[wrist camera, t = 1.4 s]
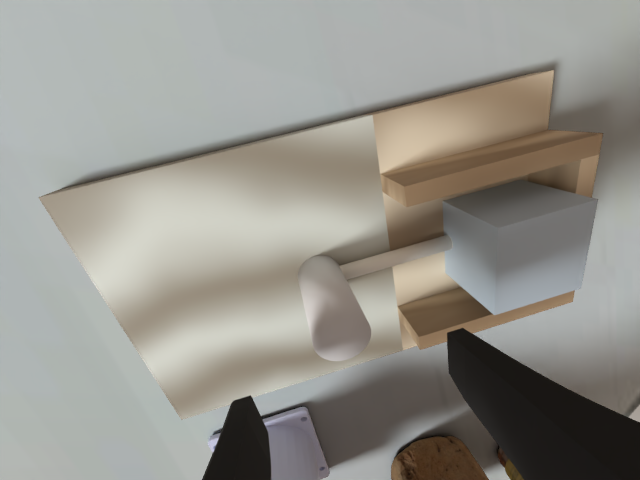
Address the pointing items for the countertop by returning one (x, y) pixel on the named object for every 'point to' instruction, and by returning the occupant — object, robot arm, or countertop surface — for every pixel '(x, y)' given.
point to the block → (436, 461)
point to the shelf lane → (309, 235)
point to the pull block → (466, 259)
